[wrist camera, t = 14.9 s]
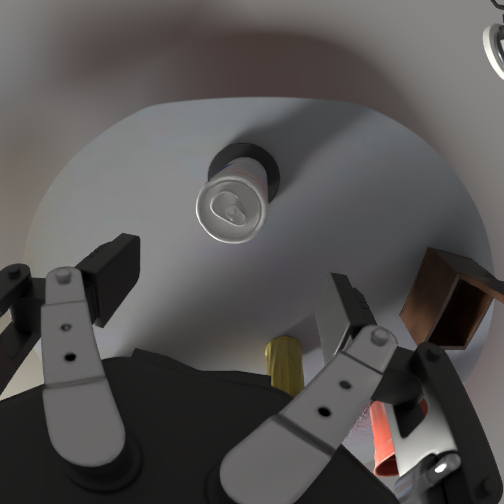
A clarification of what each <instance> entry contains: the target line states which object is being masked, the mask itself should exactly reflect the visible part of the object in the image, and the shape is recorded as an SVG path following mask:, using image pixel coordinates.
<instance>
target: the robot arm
mask: <svg viewBox="0 0 504 504" xmlns="http://www.w3.org/2000/svg"><path fill="white" fill-rule="evenodd" d="M491 2H492V3H493V4H494V6H495V7H496V8H498V9H502V10H504V5H498V4H497V3H496V1H495V0H491ZM503 23H504V14H503ZM494 45H495V49H496V52H497V55H498V57H499V59H500V61H501V63H502V64H503V66H504V25H502V26H499V30H498V31H496V32H495V35H494ZM139 274H140V237H139V236H136V235H130V234H125V233H122V234H120V235H119V236H118V237H117V238H116V239H114V240H113V241H112V242H108V243H105V244H103V245H100V246H99V247H98V248H97V249H95V250H94V252H92V253H91V254H89V256H87V257H86V258H85V259H83V260H82V261H81V262H80V263H79V264H77V265H76V266H75V267H59V268H56V269H54V270H52V271H50V272H49V273H48V274H47V276H46V278H31V272H30V268H29V267H28V266H27V265H25V264H12V265H9V266H7V267H5V268H4V269H3V270H1V271H0V318H1V317H2V316H3V315H4V314H5V313H6V312H7V311H8V310H9V313H10V316H11V319H12V322H11V323H10V324H9V325H8V326H7V327H6V329H5V330H4V331H3V332H2V333H1V334H0V395H1V394H2V392H3V391H4V389H5V388H6V386H7V384H8V383H9V381H10V380H11V378H12V377H13V375H14V374H15V372H16V371H17V370H18V368H19V367H20V365H21V364H22V362H23V361H24V359H25V358H26V357H27V355H28V354H29V352H30V351H31V350H32V348H33V347H34V346H35V344H36V343H37V342H38V340H39V339H40V338H41V346H42V362H43V374H44V384H42V385H39V386H37V387H34V388H32V389H29V390H27V391H24V392H22V393H19V394H17V395H14V396H11V397H9V398H6V399H4V400H1V401H0V504H498V503H499V501H500V499H501V497H502V493H503V483H502V480H501V477H500V474H499V470H498V467H497V464H496V462H495V459H494V456H493V453H492V451H491V448H490V446H489V443H488V440H487V438H486V435H485V433H484V430H483V428H482V425H481V423H480V421H479V418H478V416H477V414H476V412H475V410H474V407H473V405H472V403H471V401H470V399H469V397H468V394H467V392H466V390H465V388H464V386H463V384H462V382H461V380H460V378H459V376H458V374H457V372H456V370H455V368H454V367H453V365H452V363H451V361H450V359H449V357H448V355H447V354H446V352H445V351H444V350H443V349H442V348H440V347H439V346H437V345H436V344H433V343H430V342H422V343H420V344H419V345H418V347H417V348H416V350H415V352H414V351H411V350H408V349H405V348H401V347H399V346H397V345H398V342H397V339H396V337H395V336H394V335H393V334H392V333H391V332H390V331H389V330H387V329H385V328H383V327H381V326H378V325H377V323H376V321H375V318H374V316H373V314H372V312H371V310H370V308H369V306H368V304H367V302H366V300H365V298H364V296H363V295H362V294H361V293H360V292H359V291H358V290H357V289H356V288H352V286H351V284H350V282H349V279H348V277H347V276H346V275H343V274H338V273H332V272H329V273H328V274H327V276H326V279H325V282H324V285H323V288H322V291H321V294H320V297H319V299H318V302H317V306H316V313H315V317H316V322H317V327H318V331H319V336H320V341H321V346H322V351H323V356H324V361H325V367H324V368H323V369H322V370H321V371H320V372H319V373H318V374H317V375H316V376H315V377H314V379H313V380H312V381H311V382H310V383H309V384H308V385H307V386H306V387H305V388H304V389H303V390H302V391H301V392H300V393H299V394H298V395H297V396H296V397H295V398H294V397H293V396H292V395H290V394H288V393H286V392H285V391H283V390H280V389H278V388H276V387H273V386H271V376H269V375H262V374H255V373H248V372H242V371H201V370H197V369H195V368H192V367H190V366H188V365H185V364H183V363H181V362H179V361H176V360H174V359H172V358H170V357H168V356H164V355H160V354H156V353H152V352H149V351H145V350H141V349H138V348H135V350H134V352H133V354H132V356H131V357H112V358H107V359H103V360H101V359H100V355H99V351H98V348H97V344H96V340H95V336H94V332H93V327H92V325H95V326H98V327H101V328H104V326H105V325H106V324H107V322H108V321H109V319H110V318H111V317H112V315H113V314H114V312H115V311H116V310H117V308H118V307H119V306H120V304H121V303H122V302H123V300H124V299H125V297H126V296H127V295H128V293H129V292H130V291H131V290H132V288H133V287H134V286H135V284H136V283H137V281H138V278H139ZM424 396H425V399H426V402H427V405H428V411H427V414H426V417H425V415H424V412H423V409H422V407H421V404H420V402H421V400H422V399H423V398H424ZM370 399H373V400H377V401H380V402H384V407H385V411H386V415H387V419H388V424H389V428H390V433H391V437H392V442H393V447H394V451H395V456H396V462H397V467H398V472H399V479H398V480H397V481H396V483H395V485H394V490H393V492H392V491H391V490H390V489H389V488H388V487H387V486H385V485H384V484H383V483H382V482H381V481H380V480H379V479H378V478H377V477H376V476H374V475H373V474H372V473H371V472H370V471H369V470H368V469H367V468H366V467H365V466H364V465H363V464H362V463H361V462H360V461H359V460H358V459H357V458H356V457H355V456H353V455H352V454H351V453H350V452H349V451H348V450H347V449H346V448H345V447H344V446H343V445H342V444H341V443H342V441H343V440H344V439H345V437H346V436H347V434H348V433H349V431H350V430H351V428H352V427H353V425H354V424H355V422H356V421H357V419H358V417H359V416H360V414H361V413H362V411H363V410H364V408H365V406H366V405H367V403H368V401H369V400H370Z"/></svg>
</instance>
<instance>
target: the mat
mask: <svg viewBox="0 0 504 504" xmlns="http://www.w3.org/2000/svg"><path fill="white" fill-rule="evenodd" d="M240 157H248V158H252V159H254V160H256V161H258V162H259V163H260V164H261V165H262V166H263V167H264V169H265V171H266V174H267V185H268V204H269V203H270V202H271V201H272V200H273V198H274V197H275V195H276V193H277V191H278V188H279V182H280V175H279V170H278V166H277V164H276V162H275V160H274V159H273V157H272V156H271V155H270V154H269V153H268V152H267V151H266V150H264V149H263V148H261V147H259V146H256V145H253V144H249V143H239V144H234V145H231V146H228V147H226V148H225V149H223V150H222V151H220V152H219V153H218V154H217V155H216V156H215V158H214V159H213V161H212V162H211V164H210V167H209V171H208V181H209V180H210V179H211V178H212V177H213V176H214V175H216V174H217V173H218V172H219V171H220V170H221V169H222V168H224V167H225V166H226V165H227V164H228V163H229V162H231V161H232V160H234V159H236V158H240Z"/></svg>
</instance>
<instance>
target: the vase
mask: <svg viewBox="0 0 504 504" xmlns="http://www.w3.org/2000/svg"><path fill="white" fill-rule="evenodd" d="M266 356H267V375H269V376H271V386H273V387H276V388H278V389H280V390H283V391H285V392H286V393H288V394H290V395H292V396H293V397H294V398H295V397H296V396H297V395H298V394H299V393H300V392H301V391H302V390H303V389H304V375H303V365H302V345H301V343H300V342H299V341H298V340H296V339H294V338H292V337H287V336H284V337H278V338H275V339H273V340H272V341H270V342H269V343H268V345H267V347H266Z"/></svg>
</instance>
